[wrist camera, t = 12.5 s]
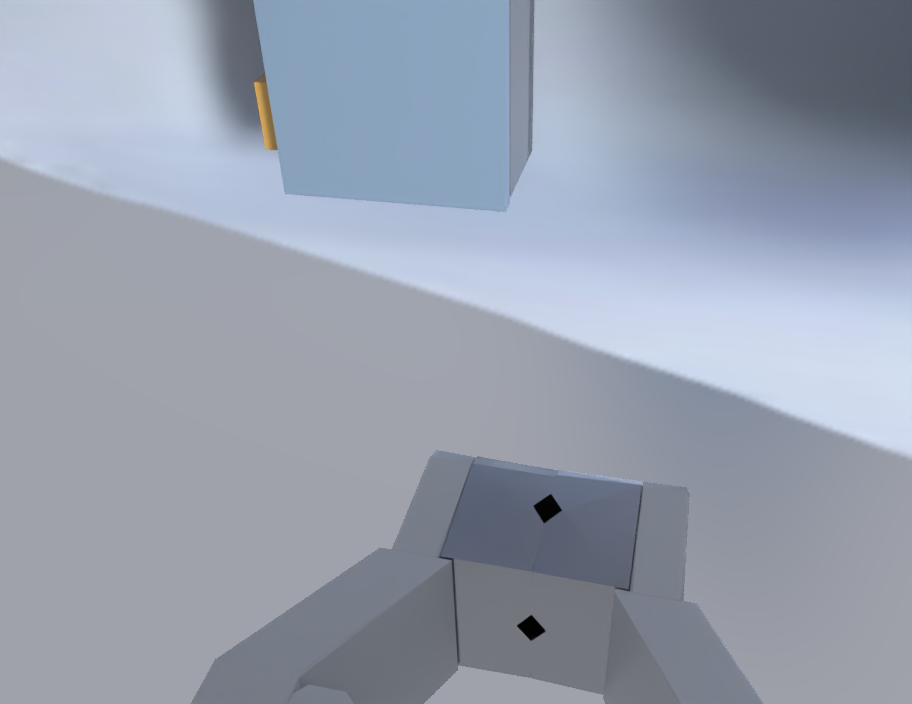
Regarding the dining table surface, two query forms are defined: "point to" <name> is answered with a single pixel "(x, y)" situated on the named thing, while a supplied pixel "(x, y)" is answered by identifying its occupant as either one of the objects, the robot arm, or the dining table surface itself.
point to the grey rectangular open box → (520, 85)
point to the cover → (388, 99)
